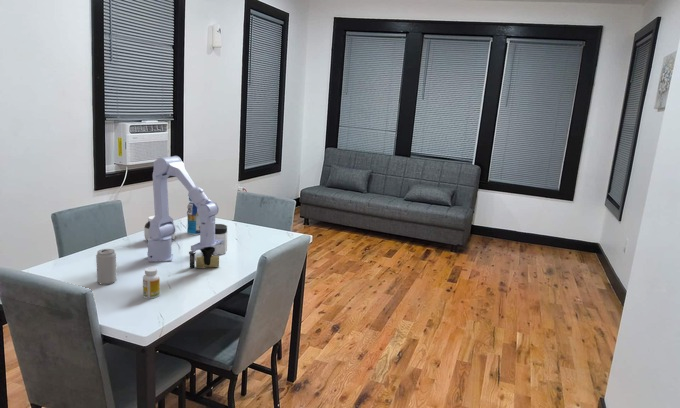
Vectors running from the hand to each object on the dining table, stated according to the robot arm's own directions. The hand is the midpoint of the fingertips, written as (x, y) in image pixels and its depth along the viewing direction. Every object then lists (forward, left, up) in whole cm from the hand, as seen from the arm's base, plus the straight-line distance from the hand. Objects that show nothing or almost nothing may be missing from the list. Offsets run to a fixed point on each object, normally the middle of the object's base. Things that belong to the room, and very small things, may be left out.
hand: (207, 264), depth 196 cm
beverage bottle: (-4, +52, -3) cm, 52 cm away
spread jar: (-20, +40, -3) cm, 45 cm away
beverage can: (-36, -9, -3) cm, 37 cm away
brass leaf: (0, +2, -2) cm, 3 cm away
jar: (+5, +22, -3) cm, 23 cm away
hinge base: (-1, +3, -2) cm, 4 cm away
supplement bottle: (-20, -23, -3) cm, 30 cm away
